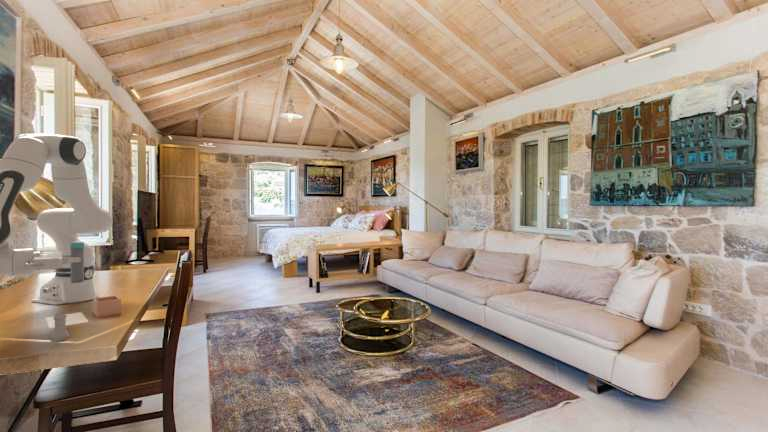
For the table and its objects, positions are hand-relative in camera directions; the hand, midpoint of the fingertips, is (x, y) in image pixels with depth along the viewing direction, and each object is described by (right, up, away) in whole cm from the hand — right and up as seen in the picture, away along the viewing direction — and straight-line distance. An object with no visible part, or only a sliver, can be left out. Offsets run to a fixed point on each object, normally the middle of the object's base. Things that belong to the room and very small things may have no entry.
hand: (80, 258), depth 132 cm
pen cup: (+5, -22, +7) cm, 23 cm away
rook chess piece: (+10, -23, -19) cm, 32 cm away
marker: (-1, -8, 0) cm, 8 cm away
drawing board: (-3, -22, -2) cm, 22 cm away
